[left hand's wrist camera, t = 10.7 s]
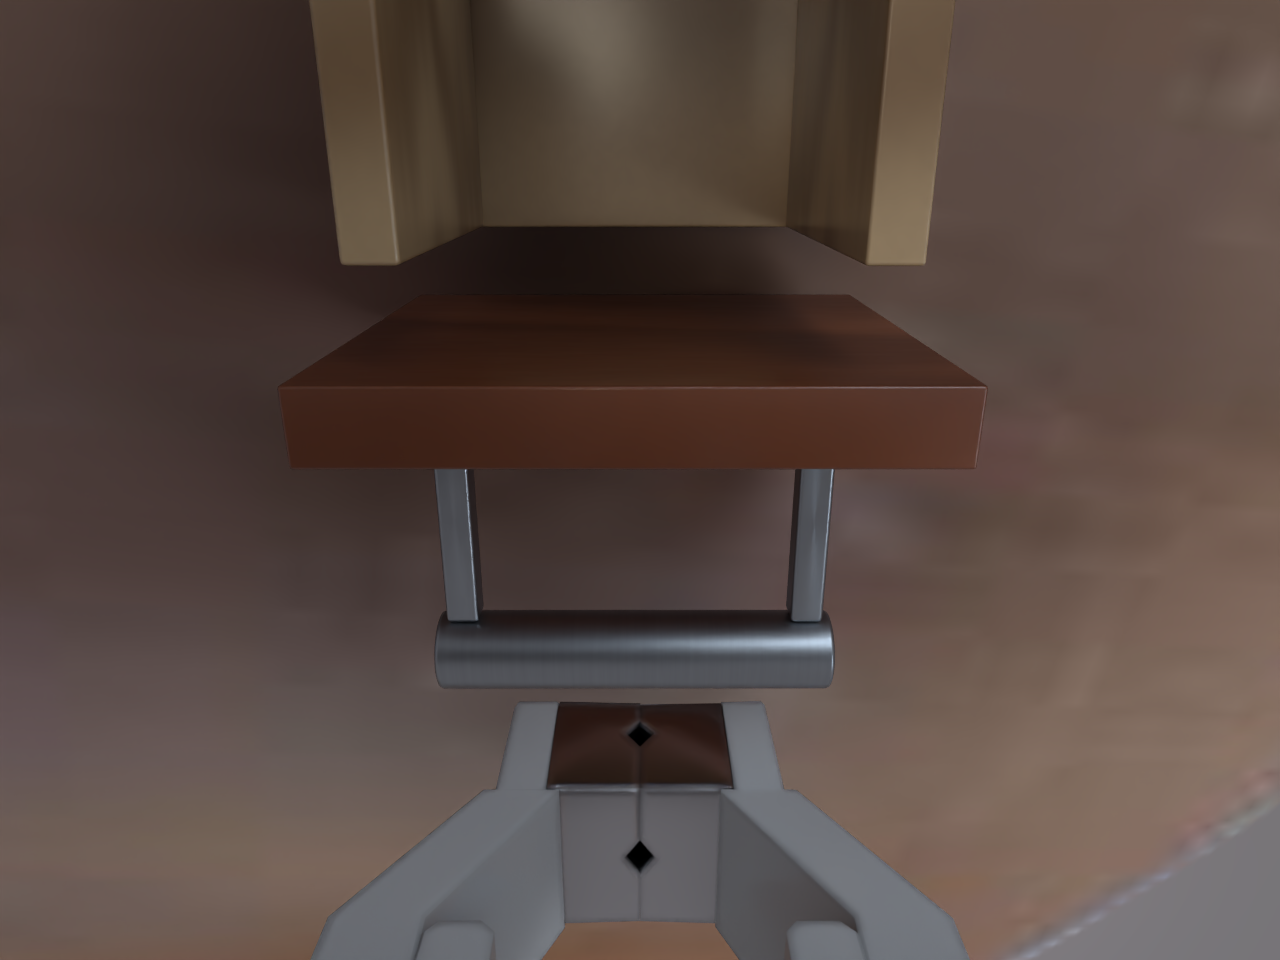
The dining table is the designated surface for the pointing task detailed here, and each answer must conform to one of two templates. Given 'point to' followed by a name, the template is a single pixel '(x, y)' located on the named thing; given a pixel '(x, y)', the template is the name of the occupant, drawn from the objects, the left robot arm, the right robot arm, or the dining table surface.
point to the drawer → (633, 324)
